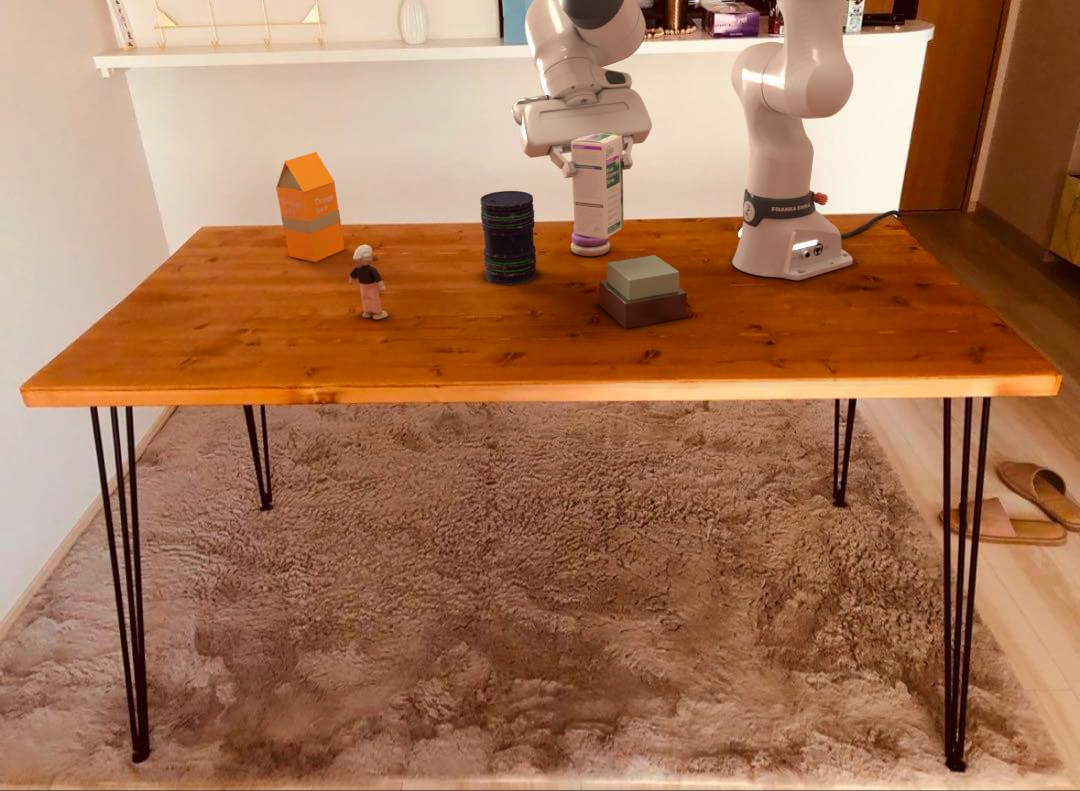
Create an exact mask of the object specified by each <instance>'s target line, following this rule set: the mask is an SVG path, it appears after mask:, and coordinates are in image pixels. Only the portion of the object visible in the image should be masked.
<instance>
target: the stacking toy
mask: <svg viewBox="0 0 1080 791" xmlns="http://www.w3.org/2000/svg"><path fill="white" fill-rule="evenodd" d="M609 238H610V236H609V237H608V238H607V239H601V238H594V237H587V236H582V235H577V234H575V226H574V225H573V232H572V234H571V241H572V242H571V244H570V249H571V251H572V252H573V253H574V254H576V255H579V256H582V257H583V256H584V257H597V256H598V257H599V256H602V255H605V254H606V253H608V252H609V251H610V250H611V243H610V241H609Z"/></svg>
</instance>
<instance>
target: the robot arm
mask: <svg viewBox="0 0 1080 791" xmlns="http://www.w3.org/2000/svg"><path fill="white" fill-rule="evenodd" d="M846 3H847V0H776V5H777V8H778V10H779V12H780V13H781V15H782V19H783V33H784V34H783V42H778V41H766V42H760V43H755V44H751V45H749V46H747V47H746V48H744V49H742V50H741V51H740V53H738V55H737V56H736V57H735V59H734V62H733V65H732V67H731V74H730V80H731V81H730V82H731V85H732V89H733V90H734V92H735V93H736V95H737V96H738V98H739V101H740V104H741V106H742V110H743V114H744V119H745V124H746V130H747V134H748V135H747V137H748V145H749V148H748V149H749V152H748V153H749V155H748V170H747V172H748V174H747V185H746V188H745V189H744V195H743V202H742V227H741V228H740V230H739V231H738V237H739V240H738V244H737V247H736V249H735V253H734V256H733V258H732V261H731V263H732V265H733V266H734V267H735V269H738V270H739V271H742V272H744V273H747V274H751V275H753V276H754V275H755V276H760V277H767V278H768V277H769V278H779V279H780V278H782V279H785V280H791V281H803V280H805V279H809V278H811V277H812V278H813V277H815V276H818V275H822V274H826V273H828V272H833V271H836V270H839V269H842V268H845V267H848V266H851V265H853V261H854V259H853V257H852V255H851V254H850V253H849V252H847V251H846V250H844V249H842V239H846V238H850V237H854V236H855V235H857V234H859V233H860V232H862V231H865V230H866V229H869V228H870V227H871V226H872V225H873V224H875V223H876V222H878V221H880V220H883V219H884V218H887V217H889V216H892V215H894V216H896V217H897V218H902V217H903V216H902V214H901V212H900V211H898V210H895V209H892V210H888V211H886V212H884V213H882V214H879V215H877V216H875V217H873V218H871V219H870V220H869V221H867V222H866V223H864V224H863V225H860V226H859V227H857V228H855V229H854V230H851V231H850V232H847V233H843V234H841V232H840V230H839V228H838V227H837V226H836V225H835V224H833V223H832V222H833V221H831V220H829V219H827V218H826V217H825V216H824V215H822V214H821V213H820V212H819V211H818V210H816V208H817V207H816V205H815V204H818V205H820V206H825V205H826V204H827V203H828V202H829V201H828V200H829V196H828V195H827V194H825V193H822V192H821V191H818V192H816V193H815V192H814V191H813V190H811V189H810V187H811V179H812V173H813V172H812V171H813V164H814V163H813V162H814V155H815V152H814V151H815V150H814V146H813V143H812V141H811V139H810V138H809V136H808V135H807V132H806V130H805V126H804V122H803V119H804V120H807V119H808V120H809V119H810V120H812V119H813V120H814V119H826V118H830V117H833V116H835V115H837V114H838V113H839V112H840V111H841V110H842V109H843V108H844V107H845V106H846V105H847V104H848V102H849V100H850V98H851V95H852V93H853V89H854V73H853V69H852V67H851V65H850V63H849V62H848V60H847V57H846V54H845V48H844V35H843V29H844V26H843V25H844V14H845V7H846ZM524 29H525V30H524V32H525V39H526V43H527V46H528V51H529V54H530V57H531V60H532V63H533V65H534V67H535V68H536V70H537V72H538V75H539V85H540V88H541V92H542V94H543V95H537V96H533V97H522V98H519V99H518V101H516V102H515V103H513V105H512V107H511V113H512V116H513V120H514V121H515V123H516V124H517V125H518V130H519V131H518V132H519V137H520V143H521V148H522V151H523V153H524V154H525V155H526V156H528V157H529V158H530V159H531V158H539V157H540V158H541V157H548V156H549V158H550V161H551V162H552V163H553V164H554V165H555V166H556V167H557V168H558V169H560V170H561V173H562V175H563V178H564V179H569V178H572V177H574V176H575V174H576V168H575V167H574V162H573V161H572V160H571V161H568V160H567V158H566V157H564V156H563V155H562V154H571V141H573V140H576V139H578V138H580V137H584V136H588V135H593V134H598V133H604V132H605V133H614V134H619V135H622V152H623V153H622V157H623V171H625V170H630V169H632V167H633V163H634V162H633V159H632V156H631V153H632V149H633V145H636V144H642V143H643V144H644V142H645V141H646V139H647V138H648V137H649V135H650V133H651V130H652V127H653V125H652V124H653V123H652V119H651V117H650V114H649V112H648V109H647V106H646V104H645V102H644V100H643V98H642V97H641V96H640V94H639V93H638V92H637V91H636V90H635V89H632V84H633V78H632V76H631V75H630V74H629V73H627V72H625V71H624V72H623V71H618V70H612V69H608V68H605V67H608V66H610V65H613V64H615V63H618V62H621V61H624V60H626V59H628V58H629V57H631V56H632V55H633V54H635V53H636V52H637V51H638V49H639V48H640V47H641V45H642V44H643V42H644V39H645V36H646V32H647V22H646V19H645V16H644V14H643V12H642V9H641V7H640V4H639V2H638V0H533V1H532V3H531V4H530V5H529V6H528V8H527V11H526V14H525V17H524Z"/></svg>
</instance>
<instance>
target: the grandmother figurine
mask: <svg viewBox="0 0 1080 791" xmlns="http://www.w3.org/2000/svg"><path fill="white" fill-rule="evenodd" d="M352 259H353V261H355V262H358V264H359V265H357V266H354V268H352V270H351V271H350V272H349V280H348V283H349V284H350V285H355V284H356V280H357V279H358V283H359V286H360V287H359V288H360V297H361V302H362V303H361V304H362V307H363V313H362V318H365V319H368V318H371V317H372V319H373V320H382V319H385V318H387V317H388V316H389V313H388V312H387V311H386V310H383V309H382V304H381V300H380V293H379V292H381V293H384V292H386V290H387V288H386V287H385V283H384V281H383V280H384V279H383V277H382V276H381V274H380V272H379V271H378V268H376V267H374V266H372V263H373V260H374V257H373V248H372V247H371V246H370V245H367V244H361V245H359V246H358V247H357V248H356V249H355V250H354V253H353V257H352Z"/></svg>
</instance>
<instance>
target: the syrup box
mask: <svg viewBox="0 0 1080 791" xmlns="http://www.w3.org/2000/svg"><path fill="white" fill-rule="evenodd" d="M570 154H571V158H570V159H571V161H573V162H574V167H575V168H576V174H575V176H574V177H571V178H572V180H571V181H572V199H573V201H572V203H573V220H574V221H573V222H574V224H573V227H574V226H575V231H574V232H575V234H577V235H582V236H587V237H594V238H601V239H607V238H608V237H609V238H610V237H611V236H612V235H614V234H616V233H617V232H619V231H620V230H623V229H624V228H625V225H624V224H625V222H624V219H625V218H624V173H623V172H624V170H623V157H622V154H623V151H622V135H619V134H614V133H605V132H604V133H598V134H593V135H588V136H584V137H580V138H578V139H576V140H573V141H571V152H570Z"/></svg>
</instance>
